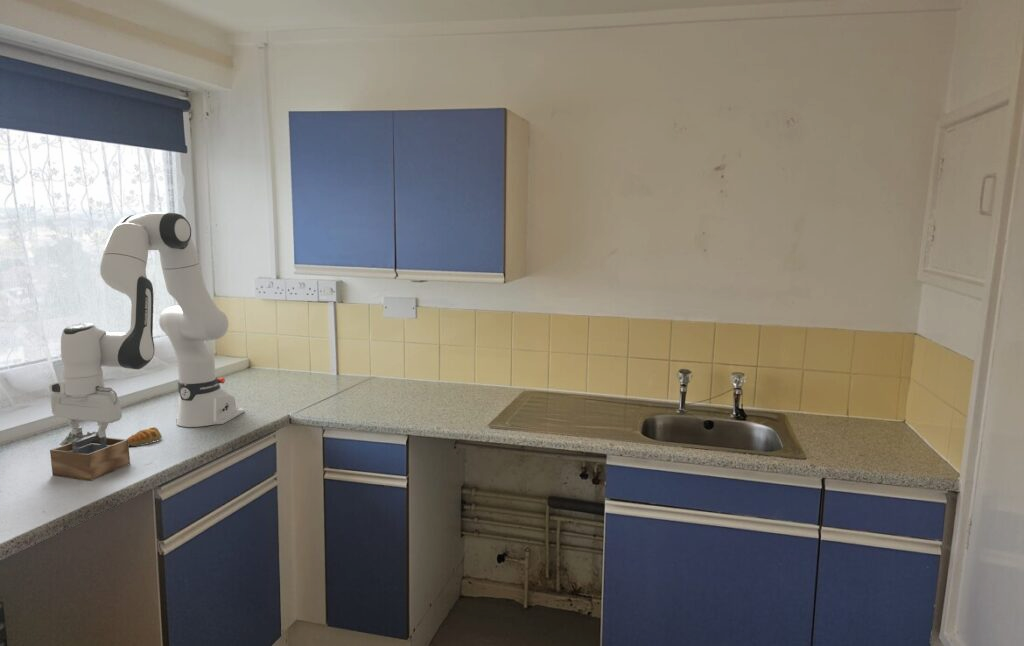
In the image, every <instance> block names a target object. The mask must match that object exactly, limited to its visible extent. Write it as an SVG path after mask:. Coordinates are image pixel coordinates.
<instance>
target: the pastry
mask: <svg viewBox="0 0 1024 646" xmlns="http://www.w3.org/2000/svg"><path fill="white" fill-rule="evenodd" d="M162 438H163V436H162V434H161V432H160V431H159V429H158V428H157V427H155V426H154V427H149V428H146V429H142V430H141V429H140V430H139V431H137V432H136V433H134V434H132V435H131V436H130V437H128V438H126V440H128V445H129V446H133V447H136V445H138V446H142V445H141V444H144V445H147V444H146V443H148V444H151V443H150V442H152V443H154V442H153V441H156V442H158V441H157V440H159V441H160V439H161V440H162Z"/></svg>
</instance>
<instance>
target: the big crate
mask: <svg viewBox="0 0 1024 646" xmlns="http://www.w3.org/2000/svg"><path fill="white" fill-rule="evenodd" d="M106 442H107V445H111V446H108V447H105V448H103V449H100V450H97V451H94V452H92V453H89V454H84V453H76V452H69V451H71V450H73V448H72V443H69V444H66V445H63V446H61V445H60V446H58V447H55V448H51V449H50V450H49V453H50V462H51V464H50V465H51V472H52V476H54V477H60V478H69V479H73V480H80V481H81V480H82V481H87V482H88V481H89V482H91V481H93V480H95V479H98V478H100V476H101V477H103V476H105V475H108V474H111V473H112V472H114V471H117V470H119V469H122V468H124V466H125V467H127V466H129V465H131V458H130V457H131V456H130V449H129V448H130V447H129V446H130V445H128V440H127V439H124V438H115V437H109V436H108V437H107V436H106ZM90 443H96V444H101V442H100V439H97V440H94V441H92V442H89V443H86V444H83V445H80V446H79V447H82V446H85V445H88V444H90ZM128 464H129V465H128ZM126 465H127V466H126Z"/></svg>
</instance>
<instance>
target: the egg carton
mask: <svg viewBox="0 0 1024 646" xmlns="http://www.w3.org/2000/svg"><path fill="white" fill-rule="evenodd" d="M94 434H96V432H95V431H92V432H89V431H87V433H86V434H84V433H83V432H82V433H81V434H79V435H74V434H72V430H71V431H69V433H68V434H67V436H65V438H63V440H62V441H61V442H60V443H59V445H60V446H63V445H66V444H69V443H72V442H73V441H76V440H79V439H82V438H85V437H88V436H91V435H94Z"/></svg>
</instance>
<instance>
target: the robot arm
mask: <svg viewBox="0 0 1024 646" xmlns="http://www.w3.org/2000/svg"><path fill="white" fill-rule="evenodd" d="M149 251H158V253H159V261H160V265H161V270H162V275H163V279H164V284H165V287H166V290H167V292H168V295H170V296H171V297H172V298H173V299H174V300H175V301H176V303H178V305H172V306H169V307H166V308H165V309H163V311H162V312H161V314H159V319H158V322H159V327H160V329H161V330H162V332H164V334H165V335H166V336H167V337H168V339H169V341H170V343H171V346H172V348H173V351H174V354H175V356H176V362H177V370H178V371H177V372H178V382H177V392H178V393H179V395H178V399H177V400H178V403H177V415H176V416H175V420H176V425H177V426H179V427H185V428H198V427H206V426H207V427H208V426H212V425H223V424H225V423H227V422H229V421H230V420H232V419H235V418H236V417H238V416H240V415H241V414H242V413H244V412H245V410H244V408H241V407H237V402H236V398H235V396H234V395H233V394H231V393H229V392H228V391H226V390H224V389H223V388H221V385H223V384H225V383H226V379H225V377H216V365H215V364H216V362H215V356H214V354H213V353H212V351H210V349H209V348H208V346H207V345H206V342H207V341H214V340H218V339H221V338H223V337H224V336H225V335H226V334H227V332H228V330H229V318H228V317H227V315H226V314H225V312H224V311H222V310H221V309H220V308H219V307H218V306H217V305H216V303H215V302H214V301H213V298H212V297H211V295H210V293H209V291H208V289H207V287H206V284H205V281H204V277H203V272H202V269H201V263H200V260H199V256H198V252H197V249H196V246H195V244H194V242H193V239H192V228H191V224H190V221H189V220H187V218H186V217H185V216H184V215H183V214H179V213H176V212H148V213H141V214H131V215H127V216H124V217H122V218H121V219H120V220H119V221H118V222H117V223H116V225H115V226H114V227H113V228H112V229H111V232H110V234H109V237H108V238H107V241H106V244H105V247H104V249H103V254H102V258H101V261H100V262H101V263H100V267H99V268H100V269H99V271H100V276H101V279H102V280H103V282H104V283H105V284H106V285H107V286H109V287H110V288H111V289H114V290H115V291H118V292H119V293H122V294H124V295H126V296H127V297H128V298H129V300H130V303H131V305H130V306H131V310H130V329H129V330H128V331H126V332H123V331H122V332H120V331H119V332H117V331H115V332H114V331H107V330H102V329H100V328H98V327H97V326H96V325H95V324H94V323H91V322H82V323H81V322H80V323H76V324H72V325H71V324H70V325H68V326H67V327H65V328H64V329H63V330H62V332H61V336H60V356H61V362H62V365H63V368H64V371H63V379H62V380H61V381H60V380H59V381H57V382H53V383H51V384H49V388H48V390H49V391H50V393H51V394H50V407H51V412H52V415H53V416H54V417H55V418H59V419H66V420H67V424H68V425H69V426H70V429H71V431H72V434H74V435H79V434H81V433H83V427H82V426H80V425H79V422H78V421H85V422H87V421H88V422H96V423H97V426H99V427H98V429H97V430H95V431H94V432H96V437H99V438H102V437H105V436H106V437H107V434H106V430H107V428H108V425H109V424H112V423H115V422H119V421H120V420H121V419H122V416H123V415H122V408H121V404H120V400H119V396H118V393H117V392H116V391H115V390H114V389H113V388H112V387H105V384H104V372H103V369H102V367H107V368H125V369H129V370H130V369H132V370H141V369H143V368H144V367H145V366H147V365H148V364H149V363H150V362H151V360H152V359H153V358H154V355H155V342H154V334H153V333H154V332H153V331H154V329H153V327H154V288H153V283H152V281H151V280H150V279H149V278H148V277H147V270H146V269H147V264H148V256H149ZM220 384H221V385H220Z"/></svg>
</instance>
